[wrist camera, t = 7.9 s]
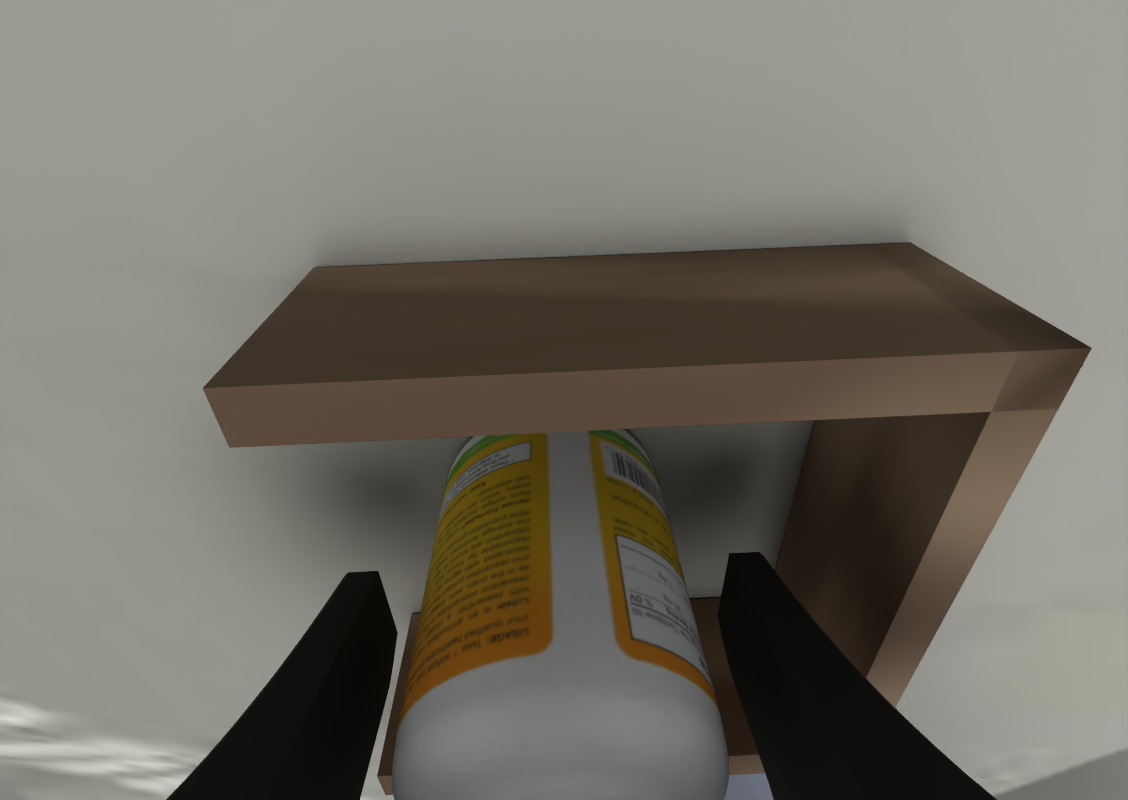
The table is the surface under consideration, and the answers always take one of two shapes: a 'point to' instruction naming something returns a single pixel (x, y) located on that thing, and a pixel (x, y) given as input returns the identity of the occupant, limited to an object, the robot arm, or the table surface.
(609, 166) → the table surface
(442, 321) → the walnut stall
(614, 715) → the supplement bottle
